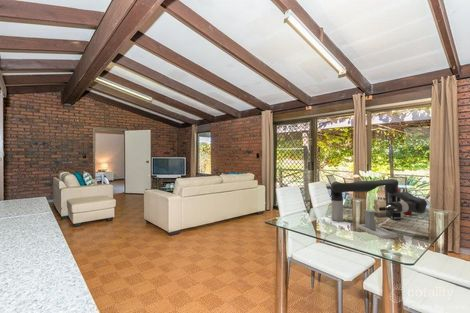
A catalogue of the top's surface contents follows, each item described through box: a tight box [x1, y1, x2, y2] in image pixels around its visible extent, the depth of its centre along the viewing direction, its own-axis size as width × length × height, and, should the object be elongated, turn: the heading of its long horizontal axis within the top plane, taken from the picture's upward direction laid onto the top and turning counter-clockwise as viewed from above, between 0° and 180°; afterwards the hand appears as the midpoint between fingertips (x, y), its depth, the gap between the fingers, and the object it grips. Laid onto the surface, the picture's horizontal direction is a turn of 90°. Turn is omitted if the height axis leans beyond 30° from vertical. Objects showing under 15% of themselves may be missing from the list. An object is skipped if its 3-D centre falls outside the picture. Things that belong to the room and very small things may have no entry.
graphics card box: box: [384, 188, 402, 221], centre depth 221 cm, size 17×7×27 cm, turn 168°
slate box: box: [364, 209, 377, 230], centre depth 187 cm, size 5×5×14 cm
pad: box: [351, 231, 381, 242], centre depth 172 cm, size 16×11×1 cm
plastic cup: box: [400, 200, 413, 216], centre depth 232 cm, size 11×11×12 cm
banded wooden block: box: [373, 198, 387, 222], centre depth 173 cm, size 5×5×14 cm
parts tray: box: [357, 223, 399, 240], centre depth 180 cm, size 26×12×3 cm, turn 7°
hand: (376, 208), depth 173 cm, fingers closed on banded wooden block, 5 cm apart
